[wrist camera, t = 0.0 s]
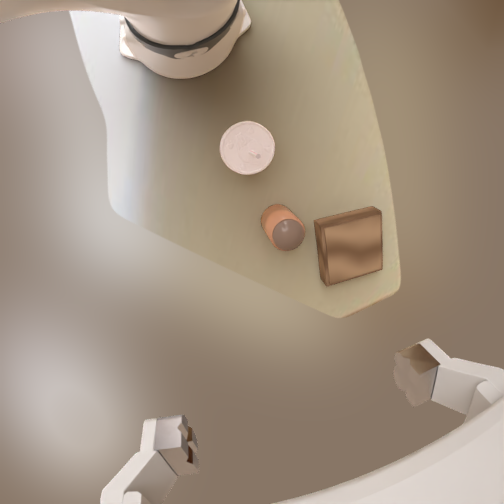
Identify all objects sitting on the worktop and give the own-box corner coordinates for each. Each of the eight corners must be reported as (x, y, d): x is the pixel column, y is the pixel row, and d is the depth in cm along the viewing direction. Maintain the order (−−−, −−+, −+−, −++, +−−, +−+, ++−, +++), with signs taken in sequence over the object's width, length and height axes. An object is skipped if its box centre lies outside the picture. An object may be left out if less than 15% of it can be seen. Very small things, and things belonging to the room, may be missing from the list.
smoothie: (233, 172, 45) (248, 194, 33) (206, 138, 43) (210, 146, 30) (268, 147, 45) (297, 158, 32) (242, 112, 42) (262, 108, 29)
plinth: (313, 220, 50) (321, 226, 48) (372, 206, 51) (382, 211, 48) (320, 278, 55) (327, 287, 52) (374, 262, 56) (383, 270, 53)
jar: (258, 208, 48) (268, 222, 42) (289, 201, 49) (303, 214, 42) (264, 238, 50) (274, 256, 44) (294, 230, 51) (308, 247, 44)
